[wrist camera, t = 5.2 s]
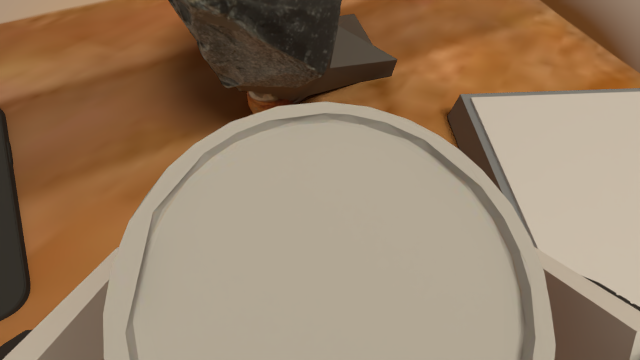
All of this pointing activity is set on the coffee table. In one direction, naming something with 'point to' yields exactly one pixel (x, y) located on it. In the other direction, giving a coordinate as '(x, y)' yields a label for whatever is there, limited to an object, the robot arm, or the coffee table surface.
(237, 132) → the disposable coffee cup
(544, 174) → the plate
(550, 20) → the coffee table surface
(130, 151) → the coffee table surface
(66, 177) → the coffee table surface
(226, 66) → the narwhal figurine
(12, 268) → the phone
